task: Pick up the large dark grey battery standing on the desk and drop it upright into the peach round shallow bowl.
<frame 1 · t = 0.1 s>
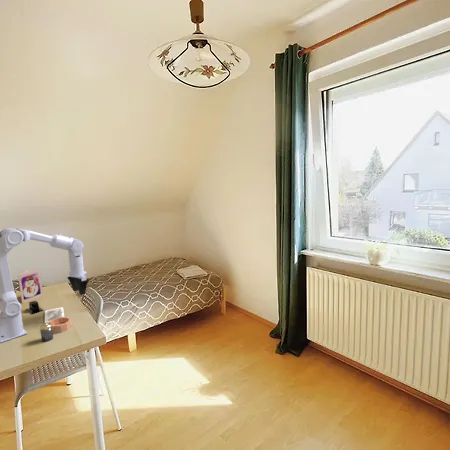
hand: (79, 292, 148), 10 cm above the table, tool pointing down, fingers open, 7 cm apart
battery: (47, 339, 126), on the table
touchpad: (54, 317, 147), on the table
peach round shallow bowl: (60, 328, 135), on the table
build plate: (34, 311, 154), on the table
greeting card: (29, 298, 169), on the table
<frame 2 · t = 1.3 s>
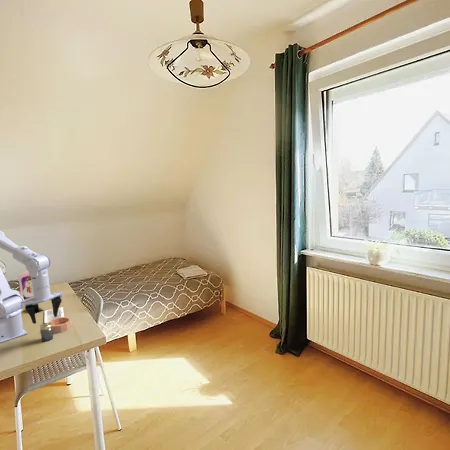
hand: (45, 319, 124), 8 cm above the table, tool pointing down, fingers open, 7 cm apart
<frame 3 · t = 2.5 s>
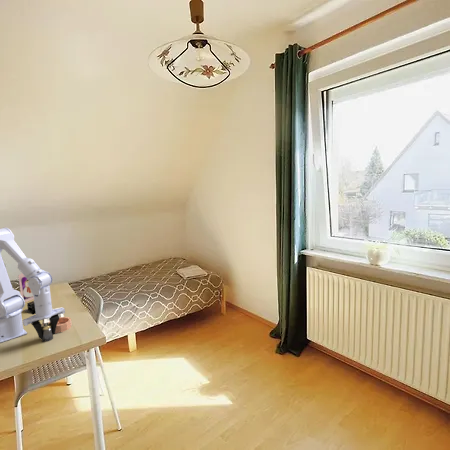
hand: (47, 335, 126), 1 cm above the table, tool pointing down, fingers closed on battery, 4 cm apart
battery: (47, 339, 126), on the table, touching gripper
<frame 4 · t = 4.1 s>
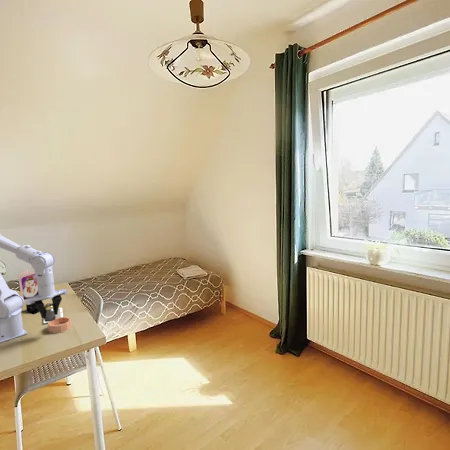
hand: (49, 315, 127), 8 cm above the table, tool pointing down, fingers closed on battery, 4 cm apart
battery: (50, 319, 128), point 7 cm above the table, touching gripper
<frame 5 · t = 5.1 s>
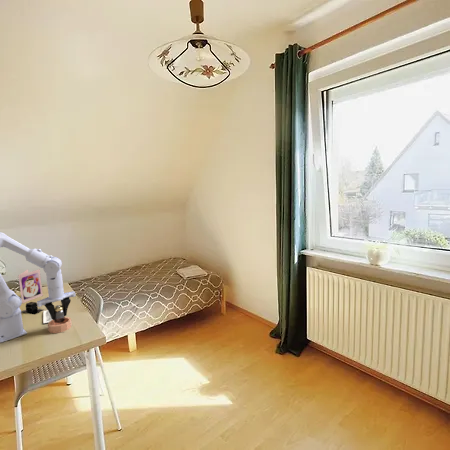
hand: (59, 317, 134), 5 cm above the table, tool pointing down, fingers closed on battery, 4 cm apart
battery: (59, 320, 134), point 3 cm above the table, touching gripper
when the fingers open (4 cm above the table, at t = 5.7 s): battery drops 1 cm, resting on peach round shallow bowl.
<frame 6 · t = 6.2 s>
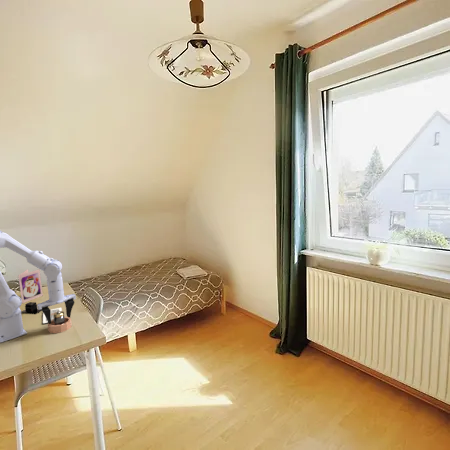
hand: (59, 319, 134), 4 cm above the table, tool pointing down, fingers open, 7 cm apart
battery: (60, 326, 135), point 1 cm above the table, touching peach round shallow bowl
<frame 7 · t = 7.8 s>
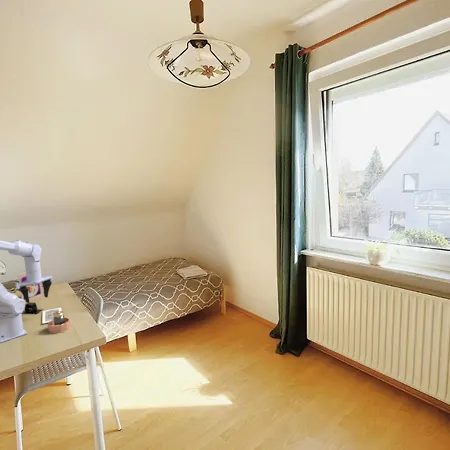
hand: (37, 299, 143), 9 cm above the table, tool pointing down, fingers open, 7 cm apart
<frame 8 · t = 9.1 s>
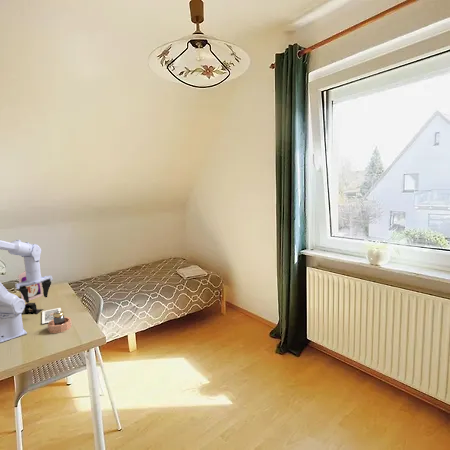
hand: (36, 299, 143), 9 cm above the table, tool pointing down, fingers open, 7 cm apart
at the end: battery 0.2 cm off-centre on the peach round shallow bowl, point 0.8 cm above the peach round shallow bowl's base; battery tilted 0°; the gripper is holding nothing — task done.
